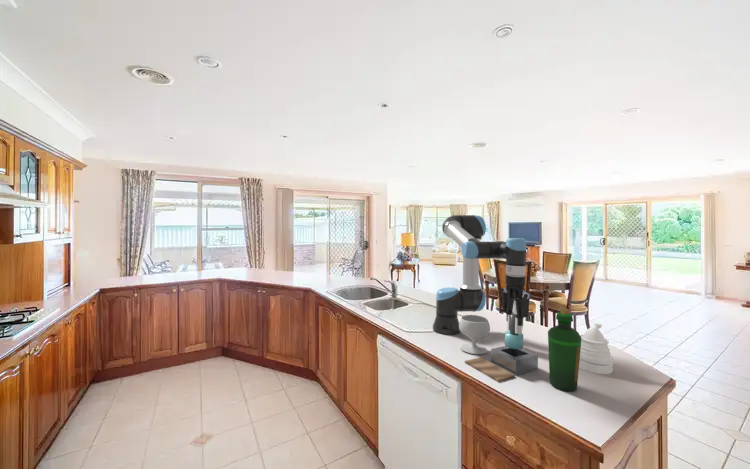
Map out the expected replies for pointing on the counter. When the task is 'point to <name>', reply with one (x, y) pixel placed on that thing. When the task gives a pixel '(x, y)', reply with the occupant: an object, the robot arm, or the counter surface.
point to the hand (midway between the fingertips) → (514, 331)
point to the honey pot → (595, 352)
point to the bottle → (564, 352)
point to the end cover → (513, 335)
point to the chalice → (474, 332)
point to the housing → (514, 360)
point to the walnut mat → (490, 369)
